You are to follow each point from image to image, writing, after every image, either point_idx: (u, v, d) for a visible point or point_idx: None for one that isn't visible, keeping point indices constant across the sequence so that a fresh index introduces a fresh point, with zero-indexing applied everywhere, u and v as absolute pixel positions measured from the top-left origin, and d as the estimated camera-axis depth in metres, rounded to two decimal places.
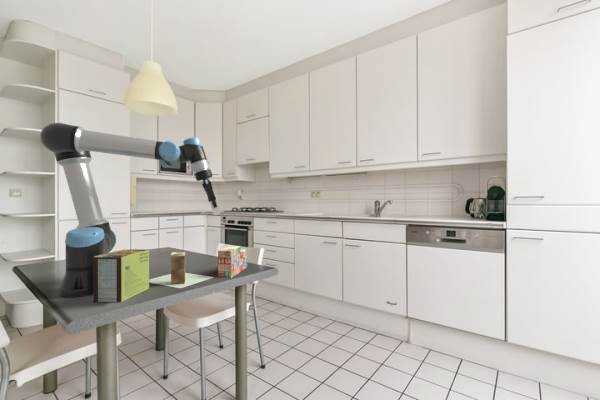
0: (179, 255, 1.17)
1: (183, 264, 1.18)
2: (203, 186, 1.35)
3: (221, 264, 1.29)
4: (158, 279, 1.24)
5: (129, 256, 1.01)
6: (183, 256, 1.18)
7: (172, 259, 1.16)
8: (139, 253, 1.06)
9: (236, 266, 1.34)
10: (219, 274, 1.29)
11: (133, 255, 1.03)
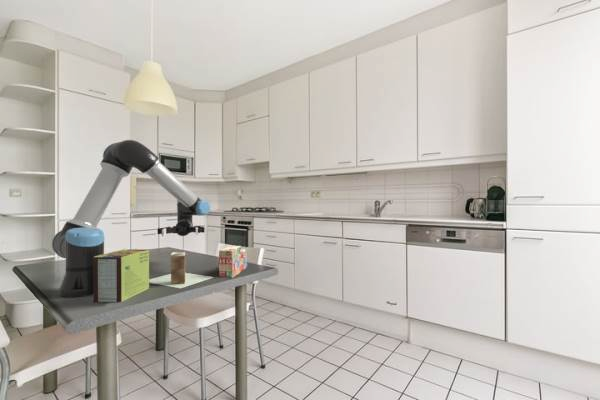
0: (179, 255, 1.17)
1: (183, 264, 1.18)
2: (186, 225, 1.42)
3: (222, 264, 1.29)
4: (158, 279, 1.24)
5: (129, 256, 1.01)
6: (183, 256, 1.18)
7: (172, 259, 1.16)
8: (139, 253, 1.06)
9: (236, 266, 1.34)
10: (220, 274, 1.29)
11: (133, 255, 1.03)
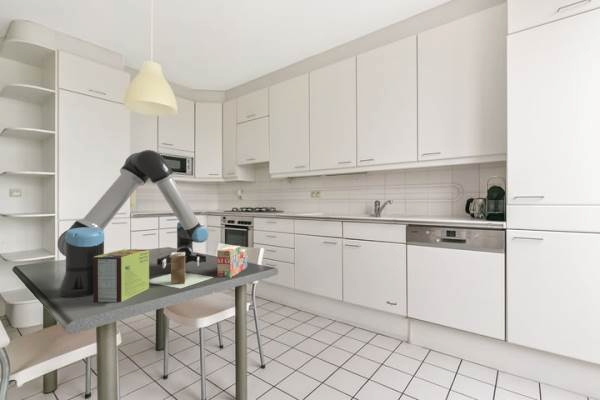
0: (179, 255, 1.17)
1: (183, 264, 1.18)
2: (187, 253, 1.37)
3: (220, 264, 1.30)
4: (158, 279, 1.24)
5: (129, 256, 1.01)
6: (183, 256, 1.18)
7: (172, 259, 1.16)
8: (139, 253, 1.06)
9: (235, 266, 1.34)
10: (218, 274, 1.30)
11: (133, 255, 1.03)
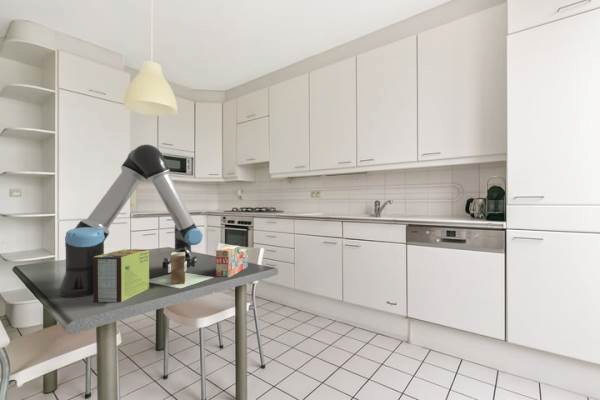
0: (179, 255, 1.17)
1: (183, 264, 1.18)
2: None
3: (218, 263, 1.30)
4: (158, 279, 1.24)
5: (129, 256, 1.01)
6: (183, 256, 1.18)
7: (172, 259, 1.16)
8: (139, 253, 1.06)
9: (234, 266, 1.35)
10: (217, 273, 1.31)
11: (133, 255, 1.03)
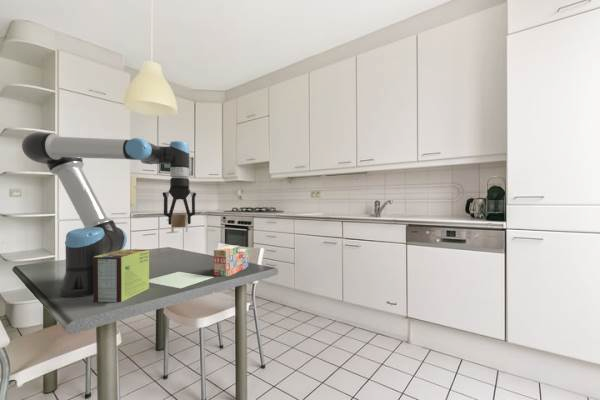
0: None
1: None
2: None
3: (216, 263, 1.31)
4: (158, 279, 1.24)
5: (129, 256, 1.01)
6: None
7: None
8: (139, 253, 1.06)
9: (232, 266, 1.35)
10: (215, 273, 1.31)
11: (133, 255, 1.03)
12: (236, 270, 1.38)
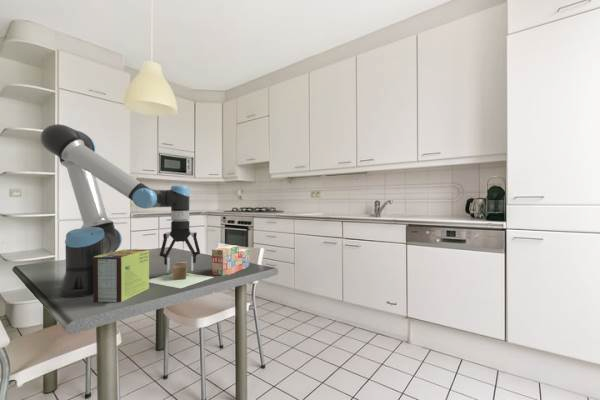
0: None
1: None
2: None
3: (214, 263, 1.32)
4: (158, 279, 1.24)
5: (129, 256, 1.01)
6: None
7: None
8: (139, 253, 1.06)
9: (230, 265, 1.36)
10: (213, 272, 1.33)
11: (133, 255, 1.03)
12: (235, 270, 1.39)
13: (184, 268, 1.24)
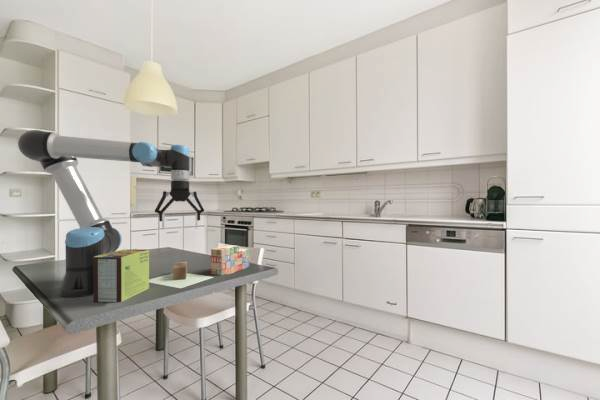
0: None
1: None
2: None
3: (213, 262, 1.33)
4: (158, 279, 1.24)
5: (129, 256, 1.01)
6: None
7: None
8: (139, 253, 1.06)
9: (229, 265, 1.36)
10: (212, 272, 1.33)
11: (133, 255, 1.03)
12: (234, 270, 1.39)
13: (184, 268, 1.24)
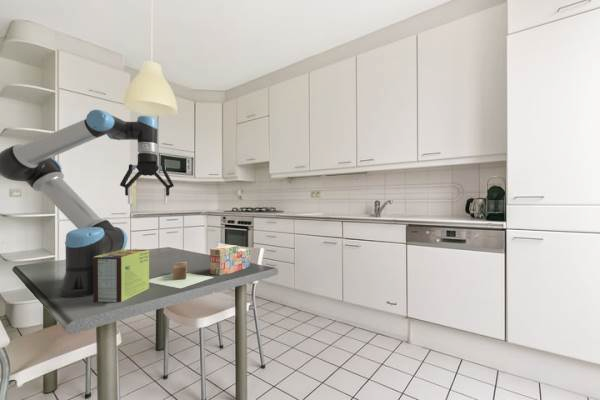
0: None
1: None
2: None
3: (212, 262, 1.34)
4: (158, 279, 1.24)
5: (129, 256, 1.01)
6: None
7: None
8: (139, 253, 1.06)
9: (228, 265, 1.36)
10: (211, 271, 1.34)
11: (133, 255, 1.03)
12: (234, 269, 1.39)
13: (184, 268, 1.24)
